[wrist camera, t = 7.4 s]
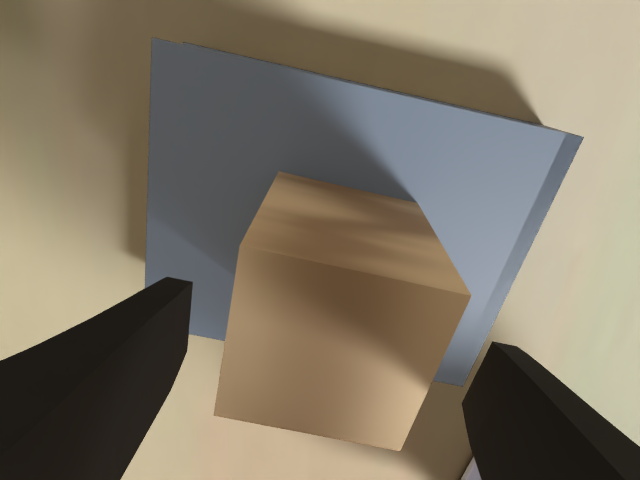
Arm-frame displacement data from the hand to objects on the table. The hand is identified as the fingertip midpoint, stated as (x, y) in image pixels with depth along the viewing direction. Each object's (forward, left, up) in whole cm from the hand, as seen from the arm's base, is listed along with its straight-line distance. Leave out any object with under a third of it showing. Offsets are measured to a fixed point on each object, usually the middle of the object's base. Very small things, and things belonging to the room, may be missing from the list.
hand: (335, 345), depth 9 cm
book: (0, 0, -9) cm, 9 cm away
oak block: (0, 0, -6) cm, 6 cm away
